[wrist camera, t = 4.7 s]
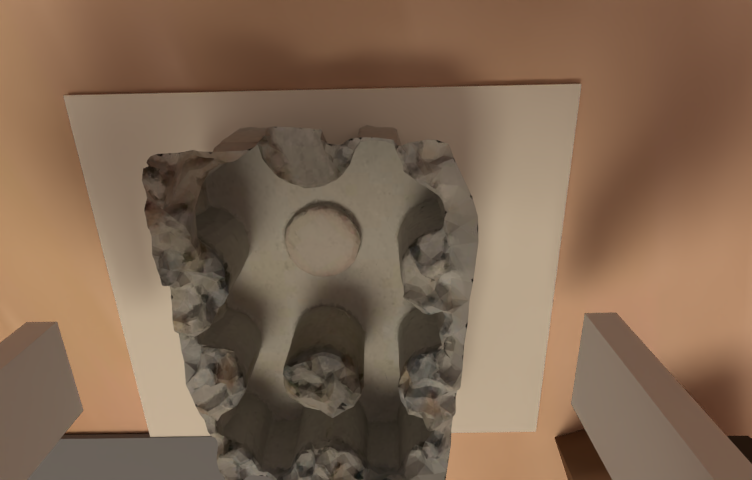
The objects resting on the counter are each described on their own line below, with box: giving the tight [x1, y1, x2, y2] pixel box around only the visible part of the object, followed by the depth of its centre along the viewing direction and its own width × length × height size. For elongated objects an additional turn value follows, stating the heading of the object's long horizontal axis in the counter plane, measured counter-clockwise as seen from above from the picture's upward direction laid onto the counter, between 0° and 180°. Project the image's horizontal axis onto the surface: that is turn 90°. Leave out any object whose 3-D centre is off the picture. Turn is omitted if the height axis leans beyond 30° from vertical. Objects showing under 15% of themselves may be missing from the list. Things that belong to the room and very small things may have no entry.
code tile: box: [63, 83, 581, 437], centre depth 16 cm, size 14×12×1 cm
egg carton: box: [142, 125, 479, 480], centre depth 14 cm, size 11×8×4 cm
